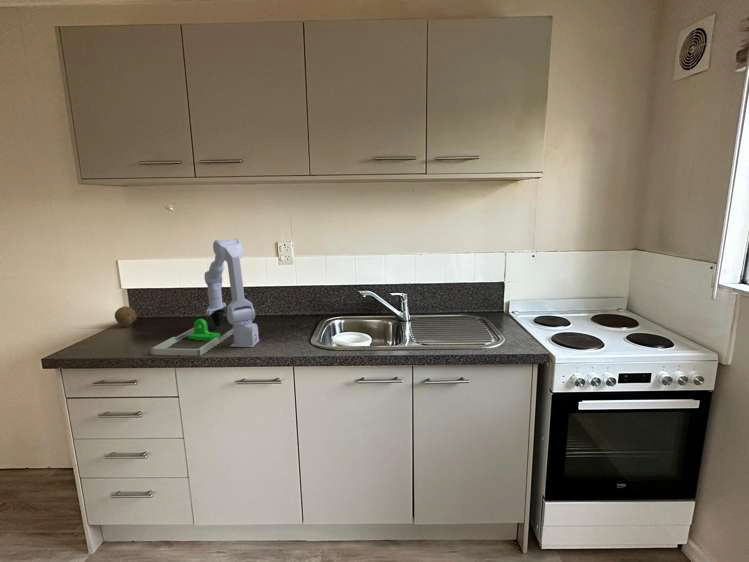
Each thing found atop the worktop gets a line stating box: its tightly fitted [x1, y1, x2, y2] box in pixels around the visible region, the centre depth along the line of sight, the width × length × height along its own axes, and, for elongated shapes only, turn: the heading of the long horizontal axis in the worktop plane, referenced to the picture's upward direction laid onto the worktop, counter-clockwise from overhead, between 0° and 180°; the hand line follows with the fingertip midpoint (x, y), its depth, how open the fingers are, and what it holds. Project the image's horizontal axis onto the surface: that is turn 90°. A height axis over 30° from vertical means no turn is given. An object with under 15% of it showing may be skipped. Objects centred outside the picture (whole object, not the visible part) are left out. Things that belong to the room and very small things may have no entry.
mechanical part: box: [187, 318, 221, 342], centre depth 174 cm, size 12×6×8 cm, turn 71°
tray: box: [150, 336, 220, 357], centre depth 162 cm, size 20×14×2 cm
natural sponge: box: [114, 306, 138, 328], centre depth 195 cm, size 9×9×10 cm
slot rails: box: [174, 324, 233, 344], centre depth 178 cm, size 20×20×2 cm
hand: (218, 325), depth 187 cm, fingers closed
